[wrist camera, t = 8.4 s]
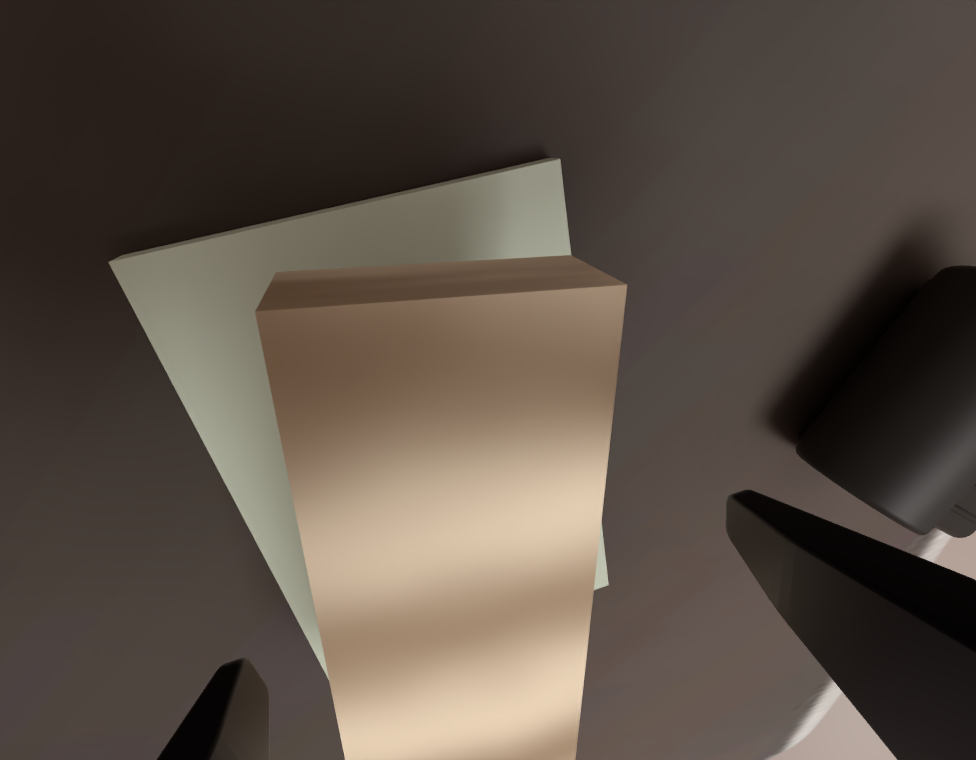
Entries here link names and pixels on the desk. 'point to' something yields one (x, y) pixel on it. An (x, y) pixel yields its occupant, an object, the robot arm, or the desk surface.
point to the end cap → (910, 415)
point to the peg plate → (312, 246)
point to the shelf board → (449, 492)
